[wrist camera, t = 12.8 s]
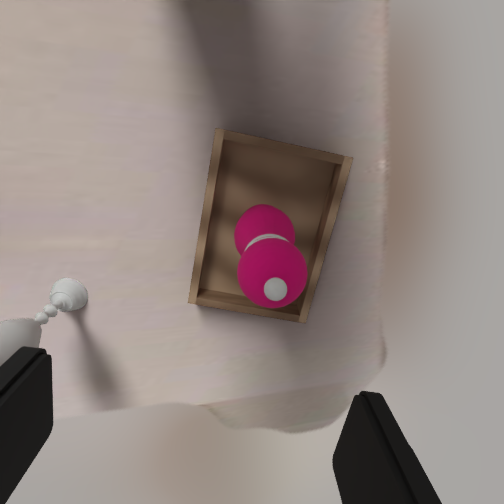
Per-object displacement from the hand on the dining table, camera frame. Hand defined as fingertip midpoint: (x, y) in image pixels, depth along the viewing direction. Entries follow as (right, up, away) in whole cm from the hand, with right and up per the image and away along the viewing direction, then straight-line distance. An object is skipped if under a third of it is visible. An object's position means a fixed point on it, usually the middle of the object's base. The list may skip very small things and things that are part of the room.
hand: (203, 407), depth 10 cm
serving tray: (+3, +8, +34) cm, 35 cm away
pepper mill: (+3, +8, +33) cm, 34 cm away
